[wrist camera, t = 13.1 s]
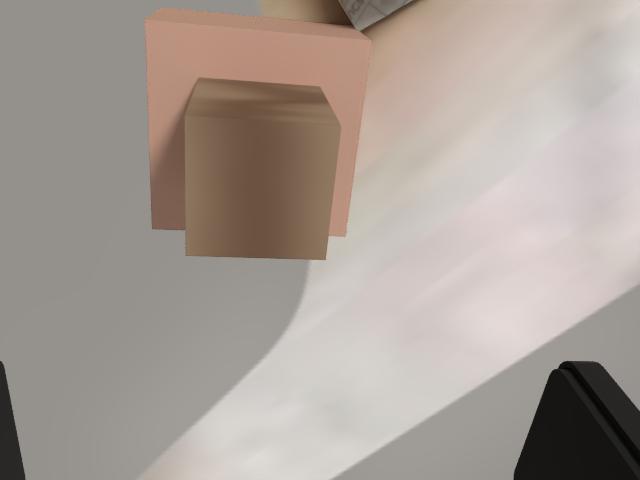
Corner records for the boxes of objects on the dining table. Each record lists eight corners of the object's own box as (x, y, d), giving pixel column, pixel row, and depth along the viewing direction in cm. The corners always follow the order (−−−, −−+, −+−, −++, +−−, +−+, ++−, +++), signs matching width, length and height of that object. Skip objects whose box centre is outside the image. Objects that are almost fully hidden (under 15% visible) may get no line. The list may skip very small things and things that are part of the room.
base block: (351, 25, 28) (372, 40, 23) (331, 196, 32) (345, 236, 27) (162, 7, 26) (144, 19, 22) (165, 187, 30) (152, 228, 26)
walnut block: (320, 86, 24) (341, 126, 18) (309, 196, 26) (325, 259, 21) (198, 77, 23) (184, 115, 18) (198, 191, 25) (185, 255, 20)
